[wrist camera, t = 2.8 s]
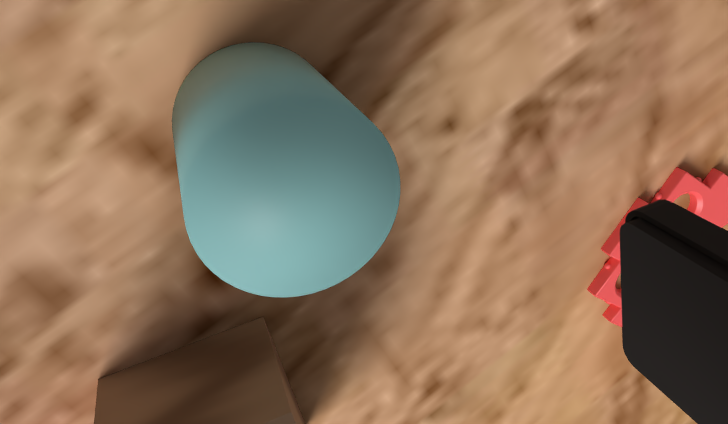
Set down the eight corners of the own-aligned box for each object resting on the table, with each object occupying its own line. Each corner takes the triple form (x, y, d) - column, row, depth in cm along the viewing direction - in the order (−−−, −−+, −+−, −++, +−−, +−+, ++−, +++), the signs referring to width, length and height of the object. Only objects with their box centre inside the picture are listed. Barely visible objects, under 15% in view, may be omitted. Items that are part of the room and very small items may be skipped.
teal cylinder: (310, 21, 18) (376, 66, 13) (348, 168, 21) (416, 253, 15) (144, 71, 17) (145, 140, 12) (206, 218, 20) (228, 326, 15)
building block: (783, 216, 28) (687, 146, 24) (676, 350, 30) (572, 306, 26) (768, 208, 29) (673, 140, 25) (664, 341, 31) (561, 296, 27)
